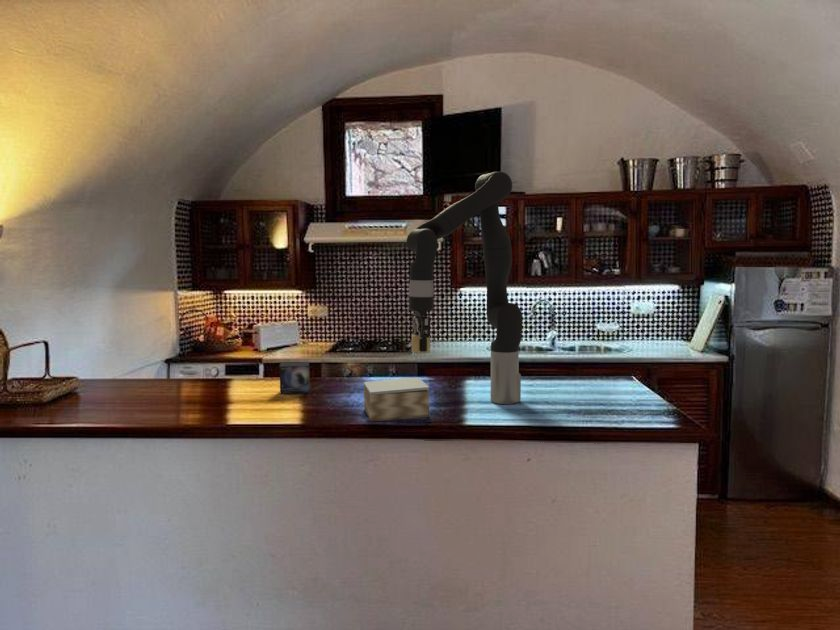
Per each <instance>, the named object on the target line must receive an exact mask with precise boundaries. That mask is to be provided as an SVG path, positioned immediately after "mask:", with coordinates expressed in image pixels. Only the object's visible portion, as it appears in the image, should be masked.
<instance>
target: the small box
mask: <svg viewBox="0 0 840 630" xmlns="http://www.w3.org/2000/svg"><path fill="white" fill-rule="evenodd" d="M310 377H311V376H310V362H309V361H303V362H299V361H298V362H296V361H295V362H279V390H280V391H279V392H280V395H281V394H283V395H301V394H303V395H305V393H306V394H310V393H311V391H310V390H311V386H310V385H311V384H310V382H311V381H310V379H311V378H310Z"/></svg>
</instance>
